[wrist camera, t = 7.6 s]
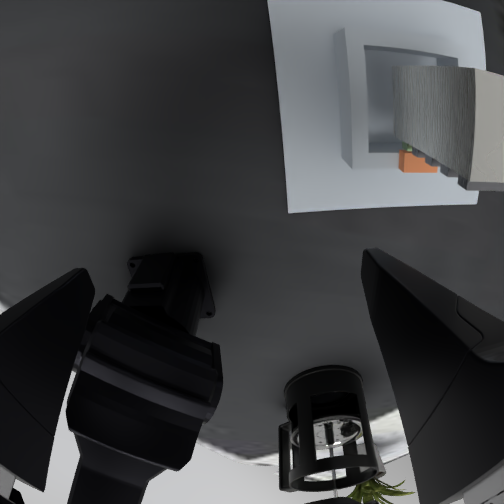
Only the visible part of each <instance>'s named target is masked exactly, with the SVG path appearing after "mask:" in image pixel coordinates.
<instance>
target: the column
mask: <svg viewBox="0 0 504 504" xmlns="http://www.w3.org/2000/svg"><path fill="white" fill-rule="evenodd" d="M392 81H393V112H394V137H396V138H398V139H400V140H402V148H403V149H404V150H406V151H412V154H413V155H414V156H416V157H418V158H425V163H427V164H429V165H430V166H432V167H440V172H441V173H442V174H444V175H445V176H447V177H458V183H457V184H458V185H459V186H461V187H462V188H464V189H465V190H466V191H504V76H502V75H499V74H495V73H492V72H488V71H485V70H481V69H477V68H468V67H453V66H392Z"/></svg>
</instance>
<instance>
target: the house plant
mask: <svg viewBox="0 0 504 504" xmlns="http://www.w3.org/2000/svg"><path fill="white" fill-rule="evenodd" d="M373 444H374V443H373ZM374 450H375V455H376V458H377V461H378V467H379V473H378V474H377V475H376V476H374V477H373V478H371V479H370V480H368V481H365V482H363V483H360V484H357V485H356V487H355V489H354V491H353V492H352V493H351V494H350V495H348V496H347V497H349V498H351V497H352V499H354V500H356V501H358V502H360V503H361V500H362V497H363V503H367V502H369V501H372V500H374V499H375V500H376V501H379V502H380V503H381V504H385V503H384V502H382V501H381V500H379V498H380V499H382V500H383V501H385V502H386V503H388V504H393V503H390V502H389V501H387V500H385V499H384V498H383V497H382V496H381V495H382V494H383V495H389V496H403V495H409V494H413V493H415V492H402V491H396V490H399V489H395V488H394V487H398V486H400V485H401V484H403V483H404V481H403V482H402V483H400V484H398V485H396V486H393V487H392V486H390V485H388V484H385V483H383V482H382V481H380V480H378V478H380V477H382V476H384V475H385V474H386V471H385V468H384V465H383V462H382V460H381V457H380V455H379V452H378V450H377V447H376V445H375V444H374ZM357 451H358V454H364V455H367V454H366V449H365V443H364V444H360V445H357ZM368 468H370V467H360V471H361V472H363V471H365V470H367V469H368ZM346 477H347V476H346ZM375 480H376V481H377V482H378V483H377V482H376V481H375ZM379 482H381V483H383V484H385V485H387V486H389V487H387V486H385V485H381V483H379ZM386 488H393V489H395V490H390V489H386ZM378 492H379V493H378ZM380 493H381V494H380ZM372 495H373V496H372ZM373 497H374V498H373ZM378 497H379V498H378Z"/></svg>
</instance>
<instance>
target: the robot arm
mask: <svg viewBox="0 0 504 504" xmlns="http://www.w3.org/2000/svg"><path fill="white" fill-rule="evenodd" d="M194 258H198V259H199V260H198V261H197V260H194ZM132 263H134V264H135V265H133V264H132ZM127 266H128V269H129V271H130V274H131V277H132V279H131V281H130V283H129V285H128V292H127V293H126V295H125V297H124V299H123V301H122V303H121V302H119V301H117V300H115V299H114V297H112V296H110V295H109V294H107V295H106V296H105V297H104V298H103V300H100V301H99V302H98V303H97V305H96V306H95V307H94V308H93V309H92V311H91V312H90V310H91V306H92V303H93V299H94V295H95V288H94V285H93V283H92V281H91V278H90V276H89V273H88V271H87V270H86V269H85V268H76V269H73V270H72V271H70V272H68V273H66V274H65V275H63V276H61V277H60V278H58V279H56V280H54V281H53V282H51V283H49V284H48V285H46V286H44V287H43V288H41V289H40V290H38V291H36V292H35V293H33V294H31V295H30V296H28V297H27V298H25V299H23V300H22V301H20V302H19V303H17V304H15V305H14V306H12V307H11V308H9V309H8V310H6V311H5V312H3V313H2V314H1V315H0V504H24V501H23V499H22V496H21V493H20V492H19V491H17V490H16V489H14V488H13V485H14V482H15V479H17V480H19V481H21V482H23V483H25V484H27V485H29V486H31V487H33V488H35V489H37V490H39V491H42V492H44V490H45V486H46V478H47V473H48V467H49V461H50V456H51V451H52V446H53V442H54V436H55V432H56V427H57V423H58V419H59V415H60V411H61V407H62V403H63V400H64V396H65V392H66V388H67V385H68V382H69V378H70V375H71V371H74V372H76V375H75V378H74V381H73V384H72V387H71V390H70V393H69V396H68V399H67V408H66V418H67V423H68V428H69V430H70V431H71V432H73V433H74V435H75V439H76V442H77V446H78V449H79V452H80V458H79V462H78V465H77V469H76V472H75V476H74V479H73V483H72V487H71V491H70V494H69V498H68V502H67V504H141V502H142V499H143V496H144V493H145V490H146V487H147V485H148V482H149V481H150V480H151V479H153V478H154V477H156V476H157V475H159V474H160V473H162V472H163V471H164V470H166V469H170V470H173V471H179V470H180V469H182V468H183V467H184V466H185V465H186V464H187V463H188V462H189V461H190V460H191V457H192V454H193V450H194V447H195V443H196V440H197V437H198V434H199V431H200V428H201V426H202V424H206V423H207V422H208V421H209V420H210V419H211V417H212V416H213V414H214V412H215V410H216V408H217V405H218V403H219V400H220V397H221V393H222V388H223V373H222V364H221V354H220V345H218V344H216V343H213V342H212V343H210V342H207V341H205V340H203V339H200V338H198V337H195V336H196V332H197V327H198V323H199V319H200V318H211V317H214V315H215V307H214V303H213V299H212V294H211V290H210V286H209V282H208V277H207V273H206V269H205V264H204V260H203V256H202V255H201V254H200V253H197V252H194V253H182V254H174V253H165V254H152V255H145V256H144V257H132V258H130V259H129V261H128V262H127ZM361 279H362V284H363V288H364V292H365V296H366V301H367V305H368V310H369V314H370V318H371V322H372V325H373V328H374V331H375V334H376V337H377V340H378V343H379V346H380V349H381V352H382V355H383V359H384V362H385V365H386V368H387V371H388V375H389V378H390V381H391V385H392V388H393V391H394V395H395V398H396V402H397V406H398V409H399V413H400V417H401V420H402V424H403V428H404V432H405V436H406V440H407V444H408V446H409V447H408V449H409V453H410V458H411V462H412V467H413V471H414V476H415V481H416V486H417V491H418V496H419V502H420V504H450V503H452V502H454V501H457V500H460V499H462V498H463V499H464V503H465V504H504V322H503V321H501V320H500V319H498V318H496V317H494V316H492V315H491V314H489V313H487V312H485V311H483V310H482V309H480V308H478V307H477V306H475V305H473V304H472V303H470V302H468V301H467V300H465V299H464V298H462V297H461V296H457V294H456V293H454V292H452V291H451V290H449V289H447V288H446V287H444V286H442V285H441V284H439V283H438V282H436V281H434V280H433V279H431V278H429V277H427V276H426V275H424V274H422V273H421V272H419V271H417V270H416V269H414V268H412V267H410V266H409V265H407V264H405V263H403V262H402V261H400V260H398V259H396V258H395V257H393V256H391V255H389V254H388V253H386V252H384V251H382V250H380V249H379V248H366V249H364V251H363V257H362V267H361ZM208 311H209V312H211V313H209V312H208Z"/></svg>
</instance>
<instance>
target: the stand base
mask: <svg viewBox="0 0 504 504" xmlns="http://www.w3.org/2000/svg"><path fill="white" fill-rule="evenodd" d="M267 2H268V10H269V17H270V25H271V33H272V41H273V50H274V58H275V67H276V76H277V86H278V96H279V106H280V116H281V127H282V138H283V150H284V162H285V175H286V189H287V204H288V213H297V212H311V211H326V210H342V209H359V208H378V207H400V206H425V205H458V204H477V199H478V193H479V191H466V190H465V189H464V188H462V187H461V186H459V185H458V184H457V183H458V177H447V176H445V175H444V174H442V173H441V172H440V167H432V166H430V165H429V164H427V163H425V158H418V157H416V156H414V155H413V154H412V151H406V150H404V149H403V148H402V140H400V139H398V138H396V137H394V112H393V81H392V66H453V67H468V68H477V69H481V70H485V71H486V61H485V47H484V37H483V29H482V21H481V14H480V12H478V11H475V10H472V9H469V8H466V7H463V6H460V5H456V4H453V3H450V2H446V1H442V0H267Z"/></svg>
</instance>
